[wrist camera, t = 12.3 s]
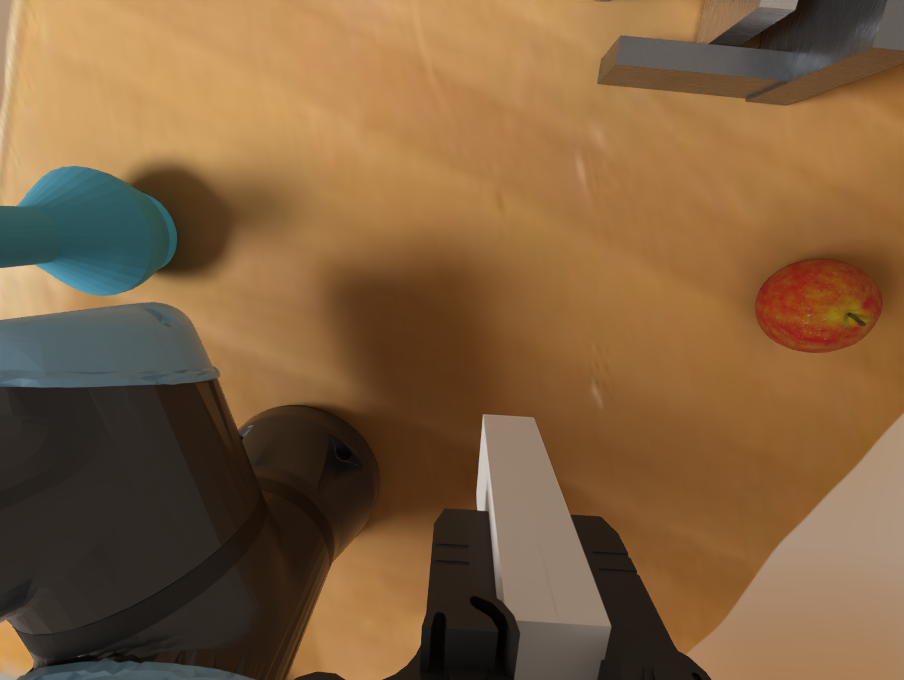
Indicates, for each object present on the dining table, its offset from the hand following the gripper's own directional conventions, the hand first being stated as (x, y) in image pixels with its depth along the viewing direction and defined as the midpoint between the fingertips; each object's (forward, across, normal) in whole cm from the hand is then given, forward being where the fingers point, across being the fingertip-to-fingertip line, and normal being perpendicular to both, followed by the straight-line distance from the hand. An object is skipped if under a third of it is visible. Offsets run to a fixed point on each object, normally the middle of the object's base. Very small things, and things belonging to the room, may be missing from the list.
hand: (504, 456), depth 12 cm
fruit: (+24, +25, +2) cm, 35 cm away
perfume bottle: (+25, -29, +4) cm, 38 cm away
